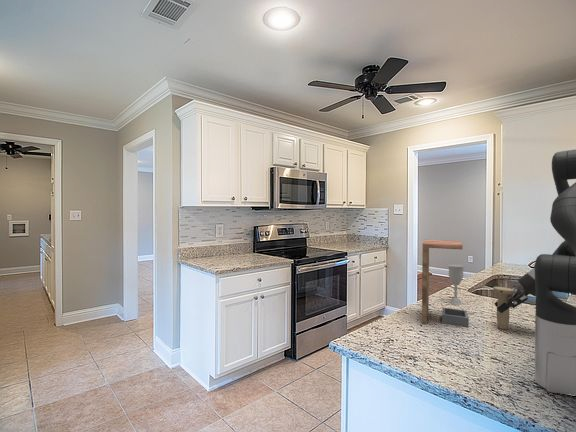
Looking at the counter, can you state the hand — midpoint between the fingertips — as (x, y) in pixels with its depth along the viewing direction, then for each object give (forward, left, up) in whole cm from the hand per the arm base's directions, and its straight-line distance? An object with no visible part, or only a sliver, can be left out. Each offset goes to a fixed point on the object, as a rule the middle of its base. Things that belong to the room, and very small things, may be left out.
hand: (497, 308), depth 118 cm
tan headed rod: (0, -2, -7) cm, 8 cm away
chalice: (+27, +13, -7) cm, 31 cm away
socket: (0, +14, -7) cm, 16 cm away
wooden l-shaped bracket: (0, +19, -7) cm, 20 cm away
